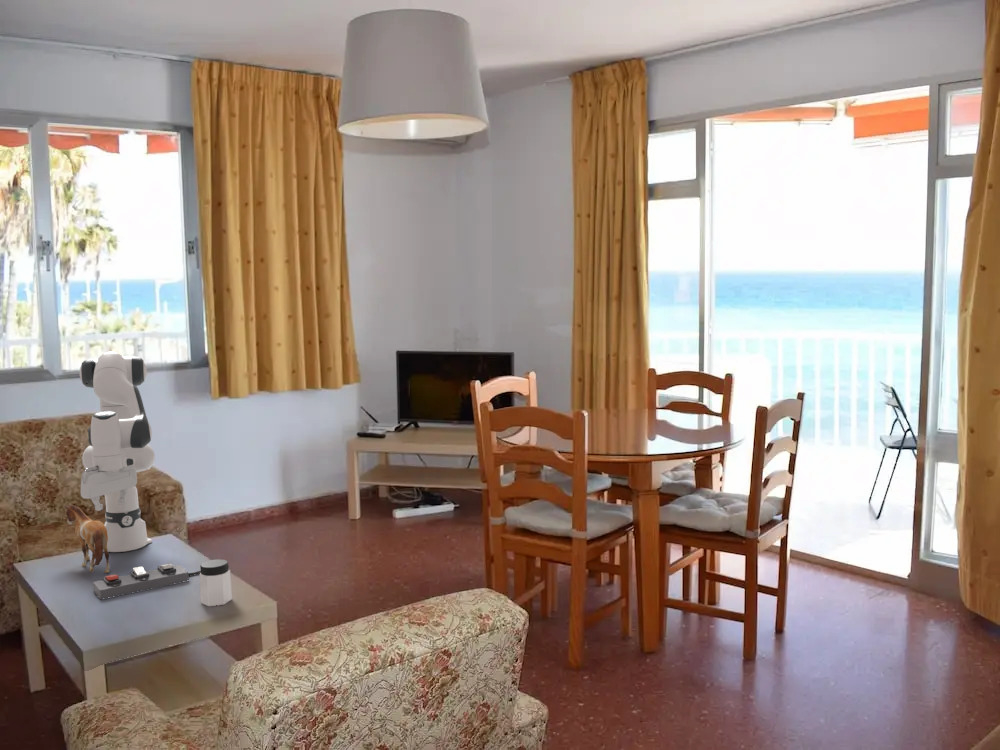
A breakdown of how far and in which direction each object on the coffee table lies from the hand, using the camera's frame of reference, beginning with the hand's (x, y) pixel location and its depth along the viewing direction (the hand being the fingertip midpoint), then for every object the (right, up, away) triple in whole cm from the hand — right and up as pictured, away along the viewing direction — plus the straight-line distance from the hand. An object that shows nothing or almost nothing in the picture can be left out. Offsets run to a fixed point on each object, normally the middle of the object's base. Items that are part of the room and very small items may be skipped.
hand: (110, 506), depth 291 cm
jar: (+36, -28, -10) cm, 47 cm away
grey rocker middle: (+6, -22, +7) cm, 24 cm away
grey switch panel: (+10, -26, +8) cm, 29 cm away
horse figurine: (-19, -25, +24) cm, 40 cm away
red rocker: (-1, -23, +3) cm, 23 cm away
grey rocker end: (+13, -22, +12) cm, 28 cm away
